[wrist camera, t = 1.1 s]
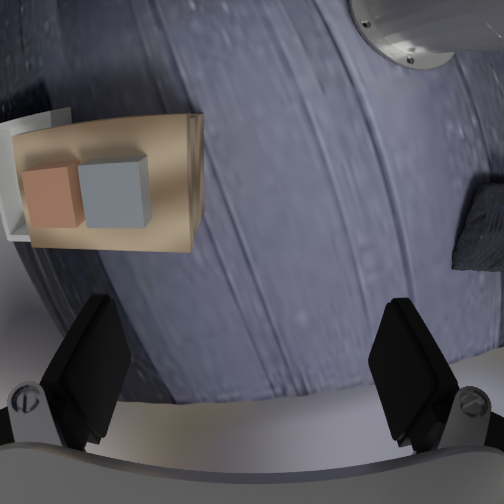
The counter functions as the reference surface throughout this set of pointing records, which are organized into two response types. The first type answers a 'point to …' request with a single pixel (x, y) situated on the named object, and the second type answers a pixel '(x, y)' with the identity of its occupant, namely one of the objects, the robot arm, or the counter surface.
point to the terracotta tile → (54, 195)
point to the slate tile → (116, 192)
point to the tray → (4, 171)
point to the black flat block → (483, 232)
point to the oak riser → (127, 145)
